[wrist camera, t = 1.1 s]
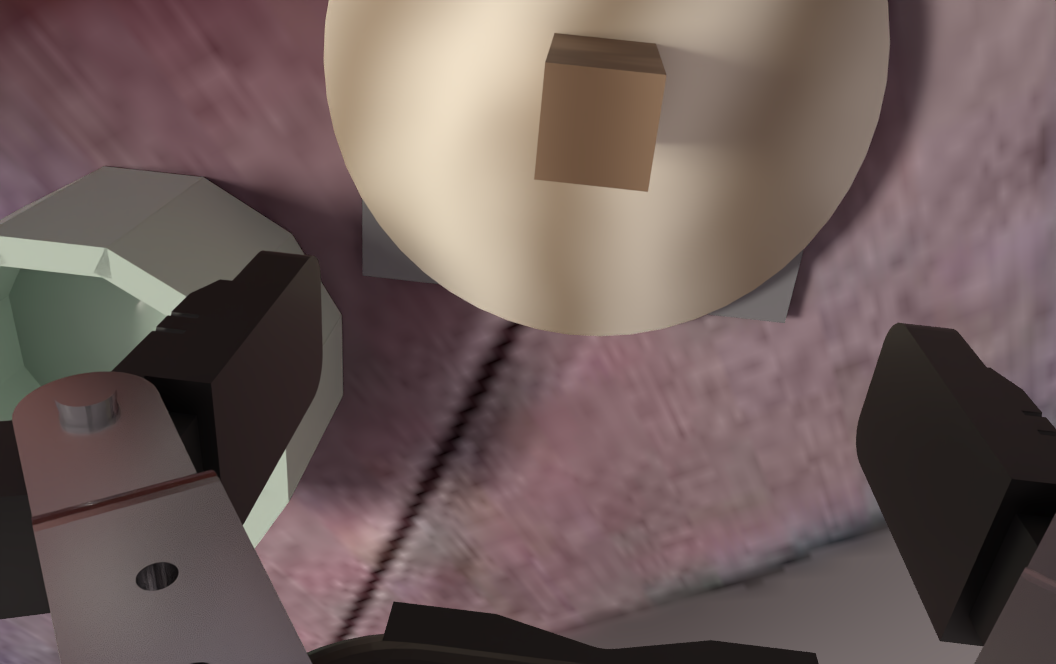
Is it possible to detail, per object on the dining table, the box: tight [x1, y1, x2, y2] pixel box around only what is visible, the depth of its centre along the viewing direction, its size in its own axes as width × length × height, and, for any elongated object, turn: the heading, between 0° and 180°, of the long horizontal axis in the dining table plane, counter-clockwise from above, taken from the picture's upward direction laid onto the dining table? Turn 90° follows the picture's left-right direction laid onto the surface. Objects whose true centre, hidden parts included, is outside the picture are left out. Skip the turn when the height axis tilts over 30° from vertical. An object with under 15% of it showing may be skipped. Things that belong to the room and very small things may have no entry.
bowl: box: [0, 166, 343, 549], centre depth 32 cm, size 14×14×7 cm
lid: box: [324, 0, 890, 336], centre depth 26 cm, size 18×18×6 cm
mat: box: [362, 199, 804, 323], centre depth 29 cm, size 16×16×1 cm
